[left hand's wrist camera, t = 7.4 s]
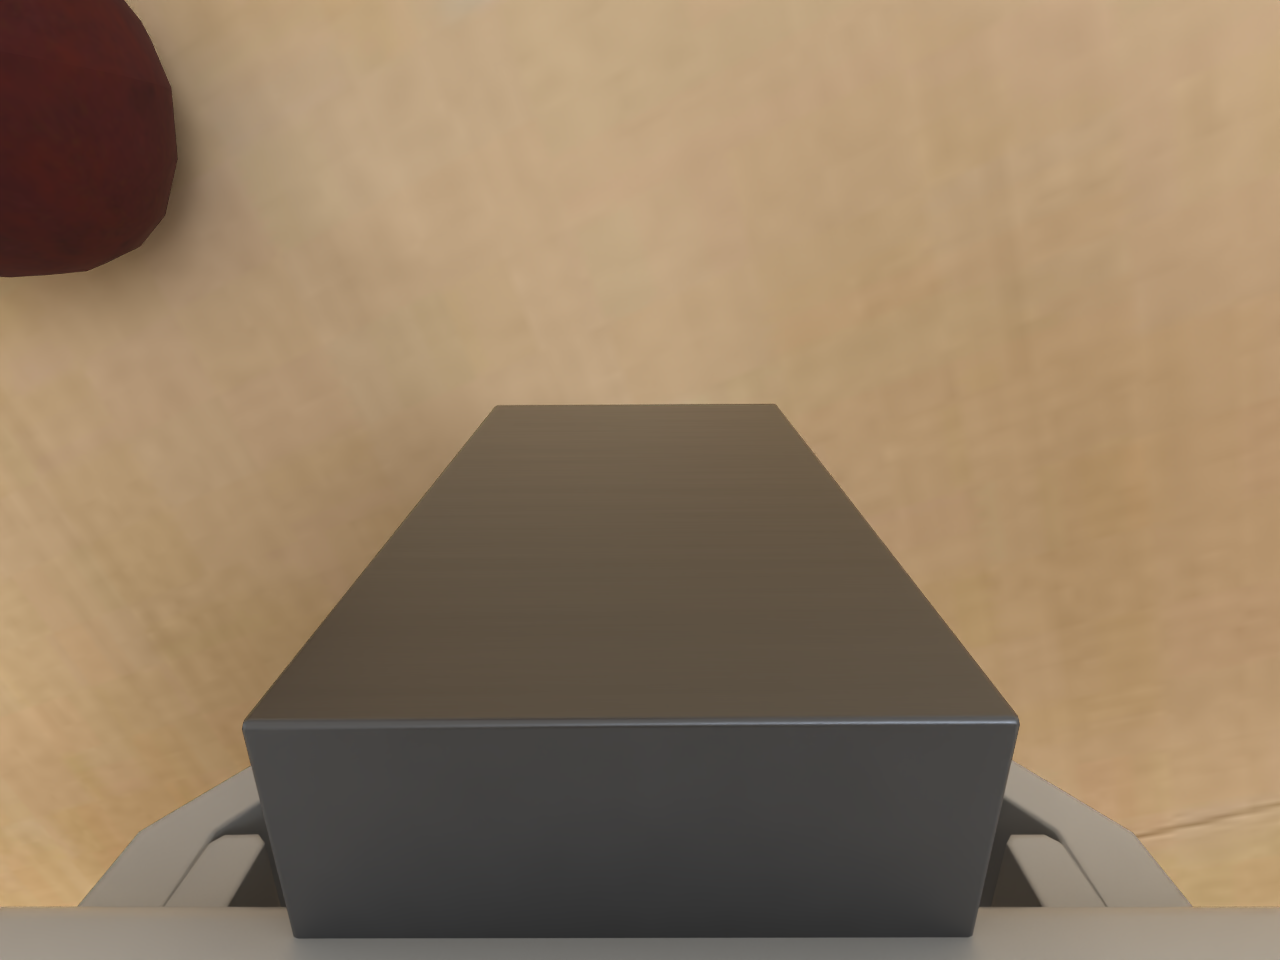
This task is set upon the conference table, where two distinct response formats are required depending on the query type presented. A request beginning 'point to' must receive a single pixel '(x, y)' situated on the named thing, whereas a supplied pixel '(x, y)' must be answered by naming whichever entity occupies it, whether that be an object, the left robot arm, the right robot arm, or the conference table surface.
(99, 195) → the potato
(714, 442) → the bar
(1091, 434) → the conference table surface
